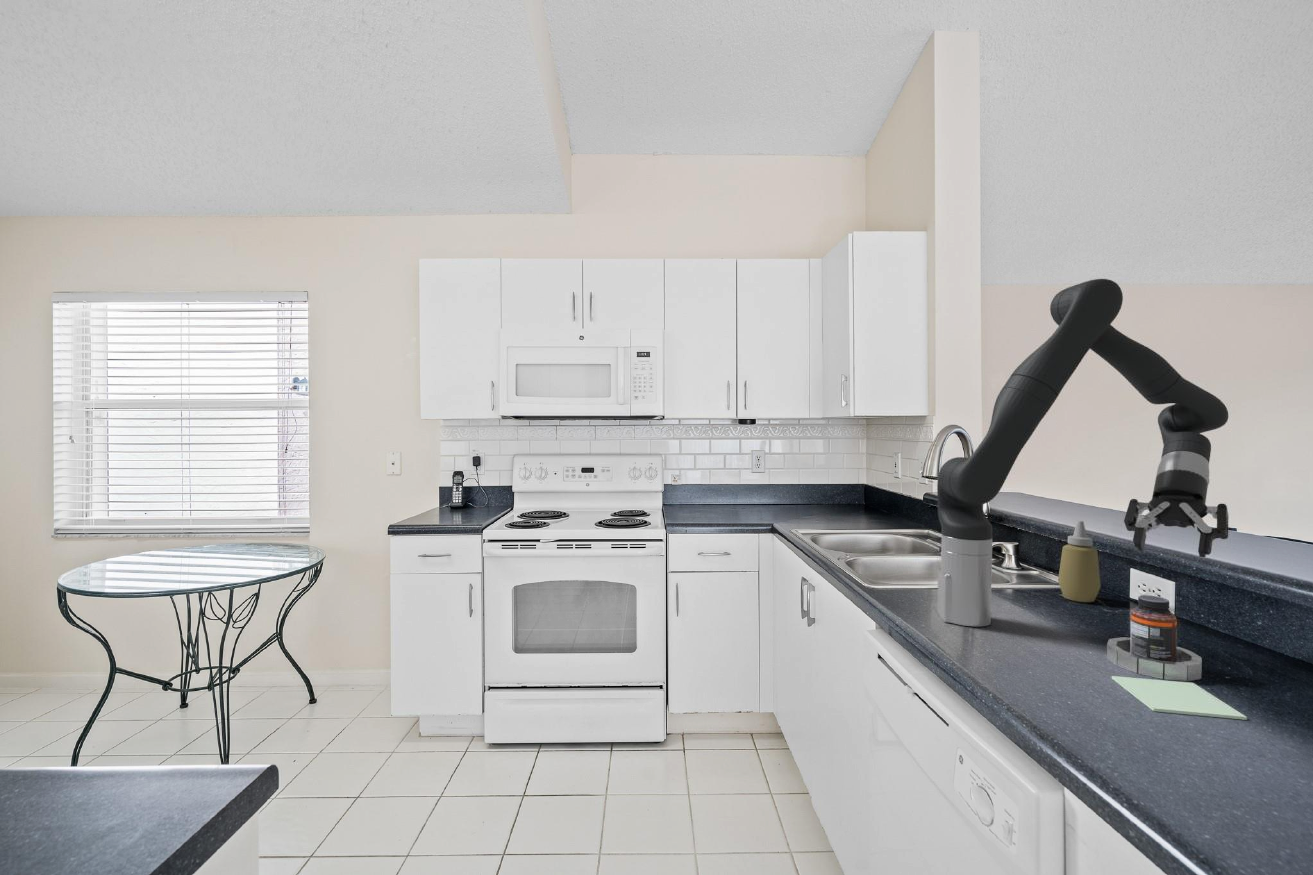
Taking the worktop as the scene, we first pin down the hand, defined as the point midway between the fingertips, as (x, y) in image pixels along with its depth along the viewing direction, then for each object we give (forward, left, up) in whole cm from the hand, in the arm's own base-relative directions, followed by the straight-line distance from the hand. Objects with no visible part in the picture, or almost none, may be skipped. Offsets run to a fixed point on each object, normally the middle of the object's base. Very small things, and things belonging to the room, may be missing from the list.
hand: (1169, 551), depth 107 cm
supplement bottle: (-7, -9, -18) cm, 21 cm away
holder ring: (-7, -9, -18) cm, 21 cm away
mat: (-11, -22, -18) cm, 30 cm away
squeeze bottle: (-1, +31, -18) cm, 36 cm away
